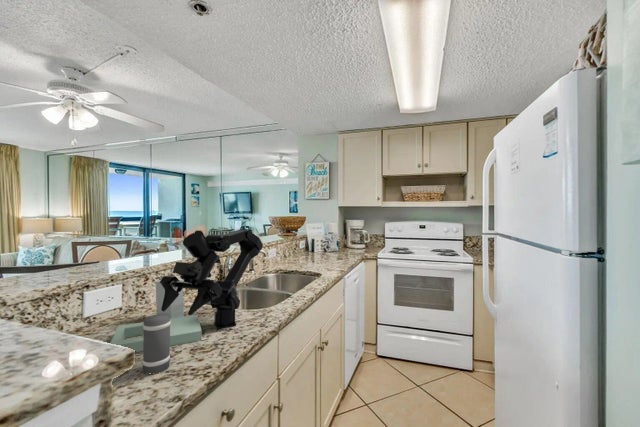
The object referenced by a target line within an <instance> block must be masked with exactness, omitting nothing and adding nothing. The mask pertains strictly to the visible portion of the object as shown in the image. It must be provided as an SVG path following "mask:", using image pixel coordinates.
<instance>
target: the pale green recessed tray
mask: <svg viewBox="0 0 640 427" xmlns="http://www.w3.org/2000/svg"><path fill="white" fill-rule="evenodd" d="M170 320H171V324H170V347H172V346H178V345H183V344H189V343H194V342H199V341H202V340H203V339H202V338H203V336H202V333H203V332H202V328H201V327H202V326H201V324H200V319H199V316H198V314H192V315H186V316H185V315H184V317H177V318H170ZM143 323H144V321H143V322H138V323H137V322H136V323H128V324H122V325H117V327H116V330H115V331H114V334H113V337H112V339H111V341H110V343H111V344H116V345H121V346H124V347H128V348H131V349H133V350H135V351H136V352H135V353H139V352H140V353H141V352H143V334H144V329H143ZM138 336H139V337H138ZM129 337H132V338H129ZM126 338H127V339H126Z"/></svg>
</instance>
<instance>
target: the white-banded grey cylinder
mask: <svg viewBox="0 0 640 427" xmlns="http://www.w3.org/2000/svg"><path fill="white" fill-rule="evenodd" d="M143 322H144V323H143V329H144V334H143V335H142V337H143V351H142V353H143V354H142V355H143V356H142V372H144V373H143V374H145V373H151V374H150V375H154V374H153V373H157V374H160V373H163V372H165V371H167V370H168V369H169V368H170V363H171V362H170V359H171V353H170V351H171V350H170V349H171V348H170V347H171V346H170V324H171V320H170V315H167V314H158V315H157V314H152V315H150V316H147V317H145V318H143ZM159 372H160V373H159Z"/></svg>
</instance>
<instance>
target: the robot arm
mask: <svg viewBox="0 0 640 427" xmlns="http://www.w3.org/2000/svg"><path fill="white" fill-rule="evenodd" d="M234 244H238V245H239V250H240V253H239V255H238V257H237V258H236V259H235V262H234V263H233V265H232V267H231V269H230V270H229V272H228V273H227V275H226V277H225V279H224V280H217V281H216V280H215V279H210V278H211V277H212V273H211V271H212V270H213V268H214V266H215V264H221V259H220V255H218V254H217V253H225V252H226V251H228V250H229V249H230V248H231V246H232V245H234ZM182 245H183V246H184V248H185V249H186V250H187V251H188V252H189V254H190V256H192V258H195V260H193V261H192V262H190V263H189V262H183V261H182V262H181V261H175V265H174V267H173V270H172V273H173V274H177V275H179V278H178V277H177V276H175V275H163V276H162V278H161V279H160V280H161V281H160V283H161V284H162V287H163V288H164V289H165V295H164V300H163V304H162V308H161V310H162V311H163V312H164V311H165V310H166V309H167V308H168V307H169V306H170V305H171V304H172V303H173V301H174V300H175V299H176V298H177V297H178V296H179V292H180V291H181V290H182V289H183V290H184V289H187V290H195V291H196V290H197V294H196V296H195V298H194V300H193V301H192V304H191V306H190V308H189V310H188V312H187V314H188V316H191V315H194V314H195V312H197V311H198V310H200V309H201V308H202V307H203V306H205V305H206V304H208V303H209V302H210V306H211V309H215V311H214V316H213V318H214V319H213V323H214V325H215V326H216V328H217V329H224V328H229V327H235V326H237V323H236V310H238V309H239V307H240V304H241V303H240V302H241V300H240V299H239V297H238V296H237V295H238V290H237V289H238V288H237V286H238V285H239V282H240V281H241V278H242V277H243V275H244V273H245V272H246V269H247V267H248V265H250V262H251V260H252V259H253V258H255V257H257V256H258V255H260V252H261V251H262V249H263V242H262V240H261V238H260V237H259V236H257V235H256V234H254V233H253V231H252V230H251V229H249V228H248V229H247V228H246V229H245V228H239V229H237V230H235V231H231V232H228V233H224V234H208V235H206V236H205V234H204V233H203V231H202V230H197V229H196V230H195V231H194V232H193V233H191V234H188V235H187V236H186V237H185V238H183V241H182ZM208 278H209V279H208ZM179 279H183V282H182V281H179Z"/></svg>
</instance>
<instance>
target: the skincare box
mask: <svg viewBox="0 0 640 427" xmlns="http://www.w3.org/2000/svg"><path fill="white" fill-rule="evenodd" d="M178 279H179V281H182V282H183V281H184V280H183V279H181V278H178ZM160 281H161V279H160V280H156V281H155V304H156V315H158V314H167V315H170V318H177V317H184V316H185V314H184V313H185V306H184V288H183V289H182V290H181V291H180V292H179V296H178V297H177V298H176V299H175V300H174V301H173V303H172V304H171V305H170V306H169V307H168V308H167V309H166V310H165V311H164V312H163V311H162V310H161V308H162V304H163V300H164V295H165V289H164V288H163V287H162V284H161V283H160Z"/></svg>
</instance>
